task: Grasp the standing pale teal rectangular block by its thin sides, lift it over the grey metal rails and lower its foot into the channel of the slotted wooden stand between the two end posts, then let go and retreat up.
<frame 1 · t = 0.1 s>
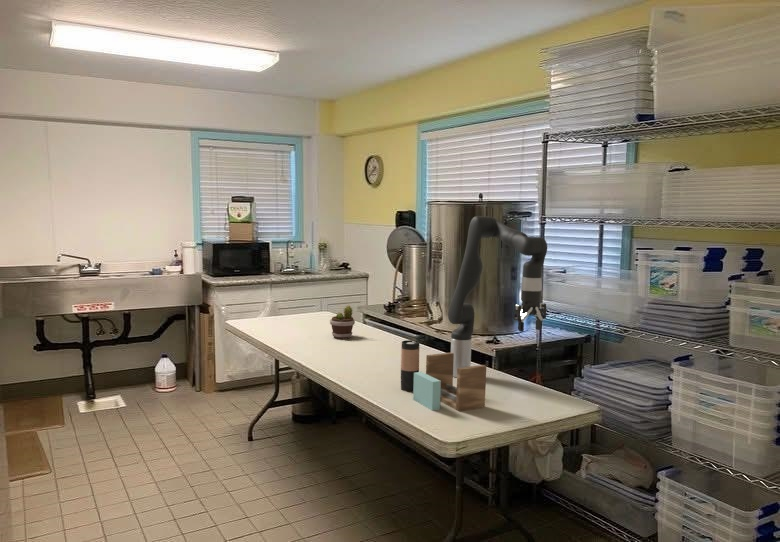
hand: (529, 330, 228), 29 cm above the table, fingers open, 8 cm apart
flowerpot: (342, 337, 346), on the table
pale teal rectangular block: (426, 404, 228), on the table
slotted wooden stand: (454, 399, 234), on the table
travel mug: (409, 389, 247), on the table
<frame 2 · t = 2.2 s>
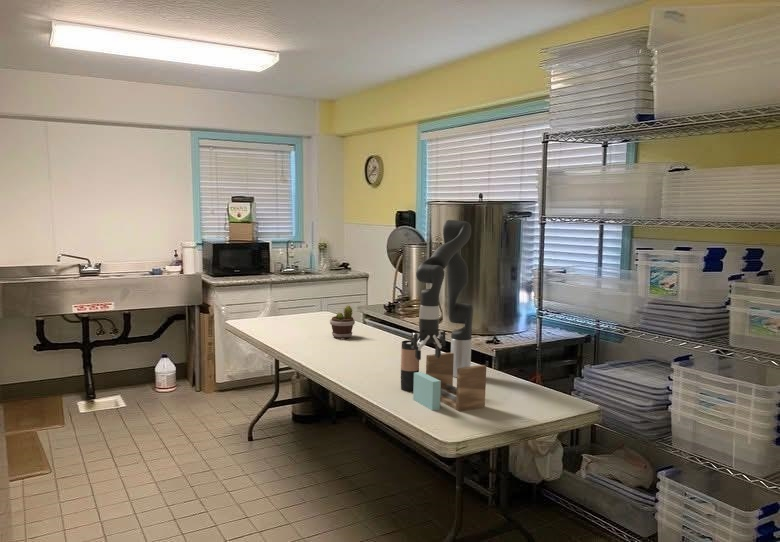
hand: (427, 358, 226), 18 cm above the table, fingers open, 8 cm apart
nothing on the table moved.
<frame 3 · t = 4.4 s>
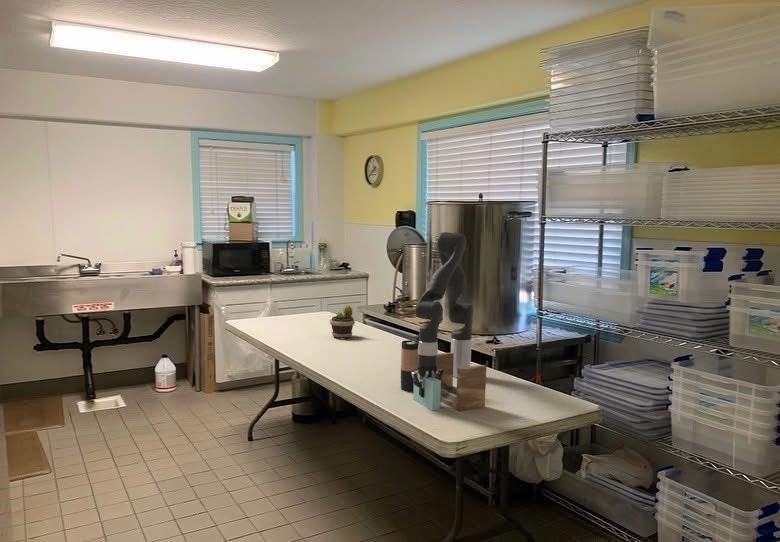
hand: (426, 396, 227), 3 cm above the table, fingers closed on pale teal rectangular block, 3 cm apart
pale teal rectangular block: (426, 404, 228), on the table, touching gripper
everything else where it was.
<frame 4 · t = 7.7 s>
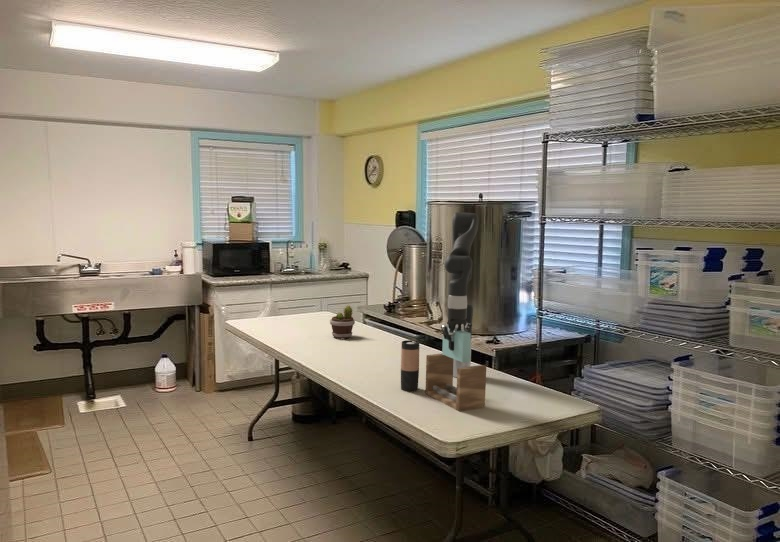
hand: (455, 349, 232), 20 cm above the table, fingers closed on pale teal rectangular block, 3 cm apart
pale teal rectangular block: (455, 357, 232), point 17 cm above the table, touching gripper
everything else where it was.
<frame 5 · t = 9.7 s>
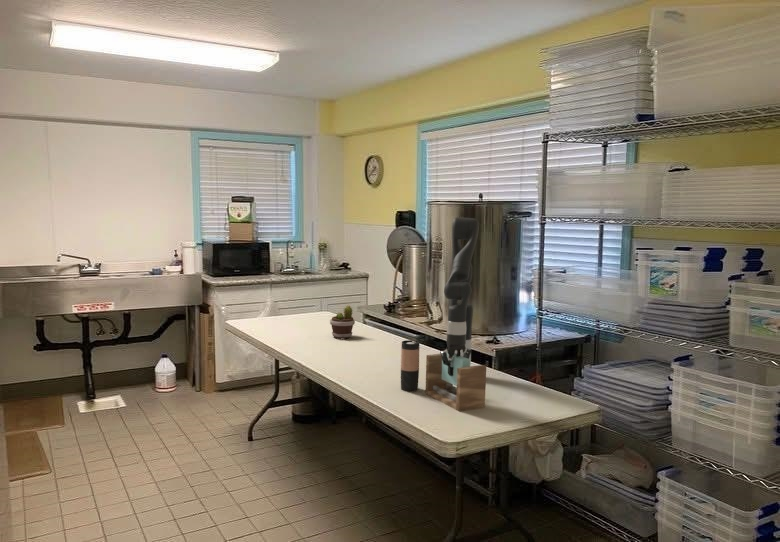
hand: (455, 374, 233), 10 cm above the table, fingers closed on pale teal rectangular block, 3 cm apart
pale teal rectangular block: (454, 383, 233), point 7 cm above the table, touching gripper
everything else where it was.
when the fingers open (6 cm above the table, at t = 11.3 s): pale teal rectangular block stays where it is, resting on slotted wooden stand.
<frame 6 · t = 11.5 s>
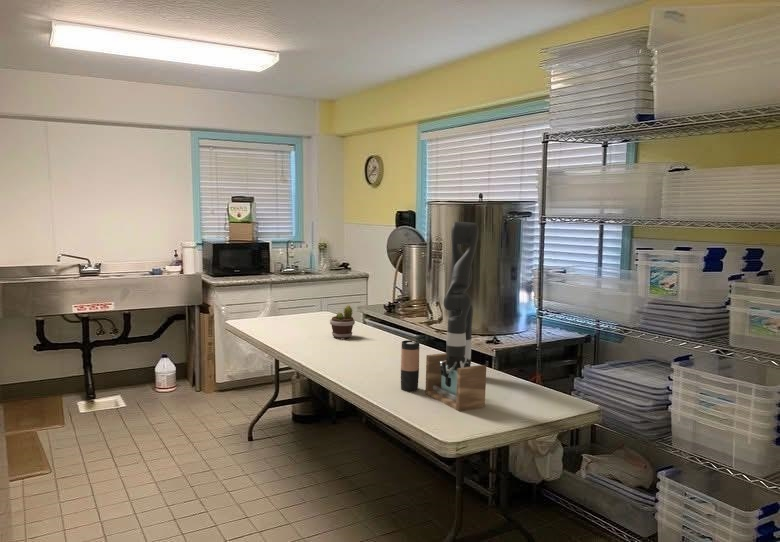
hand: (454, 385, 233), 6 cm above the table, fingers open, 5 cm apart
pale teal rectangular block: (454, 396, 234), point 1 cm above the table, touching slotted wooden stand
everything else where it was.
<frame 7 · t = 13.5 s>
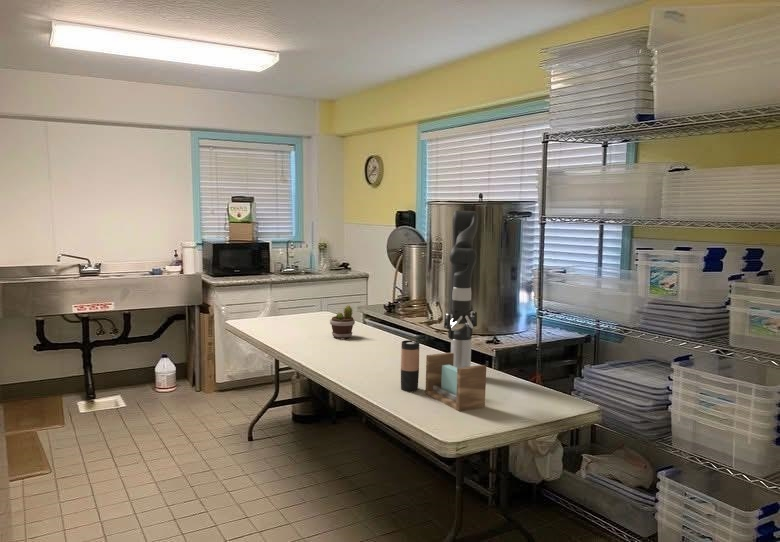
hand: (460, 338, 236), 24 cm above the table, fingers open, 8 cm apart
nothing on the table moved.
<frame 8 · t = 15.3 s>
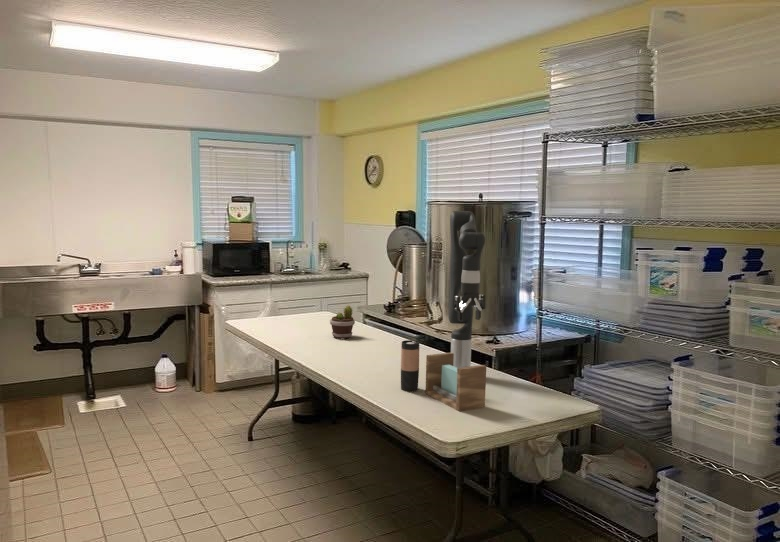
hand: (469, 320, 242), 30 cm above the table, fingers open, 8 cm apart
nothing on the table moved.
at the end: pale teal rectangular block 0.1 cm off-centre on the slotted wooden stand, point 1.5 cm above the slotted wooden stand's base; pale teal rectangular block tilted 0°; the gripper is holding nothing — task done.
